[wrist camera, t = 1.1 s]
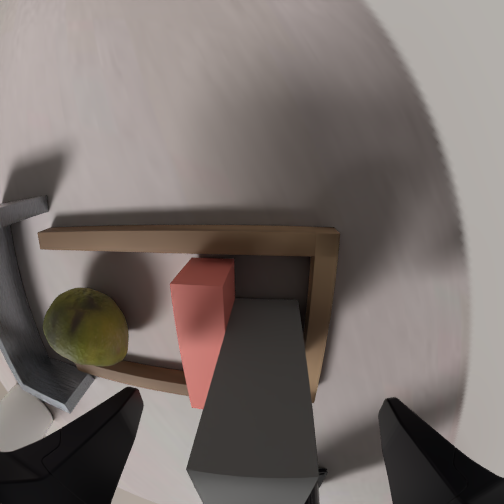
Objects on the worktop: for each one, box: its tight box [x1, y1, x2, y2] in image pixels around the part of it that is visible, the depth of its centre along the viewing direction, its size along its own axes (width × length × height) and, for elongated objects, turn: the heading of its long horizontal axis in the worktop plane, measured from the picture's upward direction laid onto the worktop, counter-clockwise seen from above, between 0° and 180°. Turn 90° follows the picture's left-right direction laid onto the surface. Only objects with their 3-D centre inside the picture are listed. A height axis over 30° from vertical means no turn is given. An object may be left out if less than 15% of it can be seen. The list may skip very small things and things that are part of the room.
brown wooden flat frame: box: [38, 225, 340, 403], centre depth 14 cm, size 10×16×1 cm, turn 90°
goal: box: [0, 195, 94, 413], centre depth 13 cm, size 14×6×4 cm, turn 0°
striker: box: [170, 258, 319, 504], centre depth 9 cm, size 7×5×9 cm
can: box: [0, 384, 53, 452], centre depth 15 cm, size 6×6×12 cm
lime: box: [43, 288, 129, 366], centre depth 12 cm, size 4×5×5 cm
